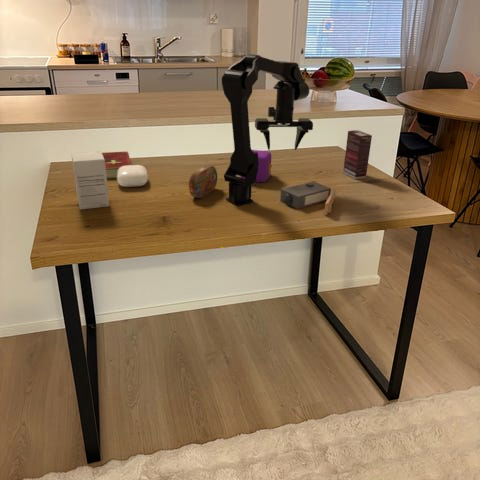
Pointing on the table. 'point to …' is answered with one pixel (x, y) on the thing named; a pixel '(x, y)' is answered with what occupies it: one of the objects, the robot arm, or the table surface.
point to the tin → (203, 181)
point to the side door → (329, 202)
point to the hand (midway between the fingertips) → (282, 149)
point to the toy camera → (263, 165)
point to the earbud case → (132, 175)
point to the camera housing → (305, 194)
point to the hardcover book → (115, 162)
